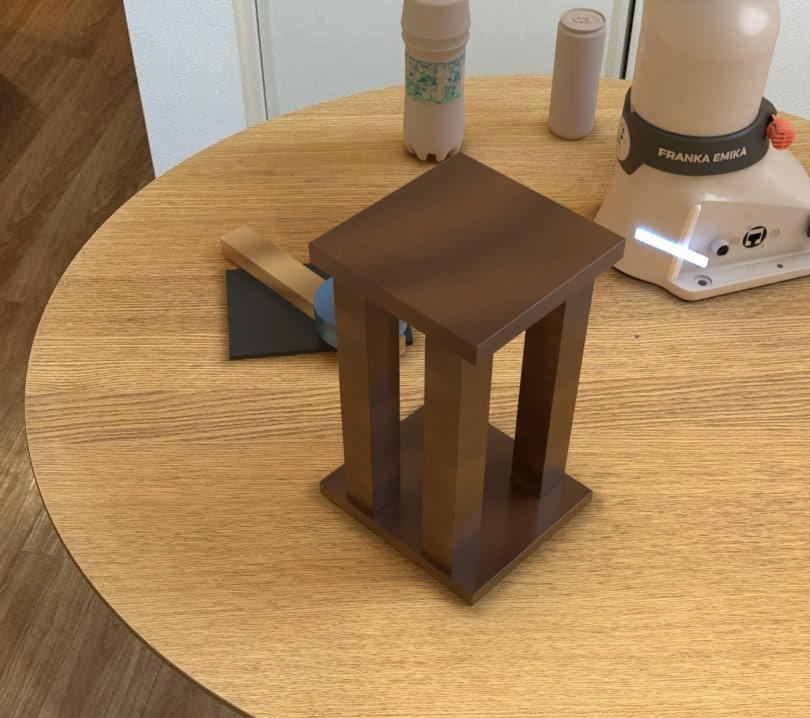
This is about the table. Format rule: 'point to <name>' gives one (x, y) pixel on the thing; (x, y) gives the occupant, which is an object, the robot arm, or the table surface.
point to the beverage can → (576, 72)
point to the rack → (461, 366)
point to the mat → (271, 320)
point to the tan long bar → (288, 279)
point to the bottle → (434, 75)
